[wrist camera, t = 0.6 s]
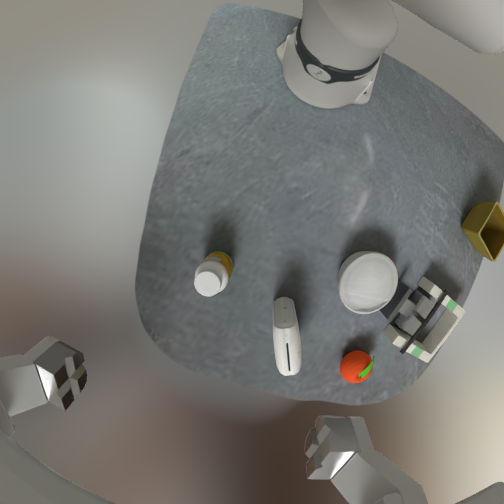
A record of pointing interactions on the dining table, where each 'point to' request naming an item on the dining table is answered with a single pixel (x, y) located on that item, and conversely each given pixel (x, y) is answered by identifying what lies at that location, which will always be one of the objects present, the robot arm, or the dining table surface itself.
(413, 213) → the dining table surface
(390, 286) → the ramekin
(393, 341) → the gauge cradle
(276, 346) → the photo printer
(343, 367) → the red tomato
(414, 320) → the grey metal pieces
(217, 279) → the supplement bottle
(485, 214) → the flower pot
